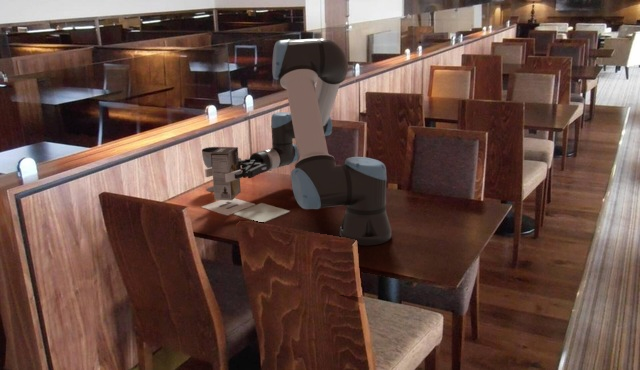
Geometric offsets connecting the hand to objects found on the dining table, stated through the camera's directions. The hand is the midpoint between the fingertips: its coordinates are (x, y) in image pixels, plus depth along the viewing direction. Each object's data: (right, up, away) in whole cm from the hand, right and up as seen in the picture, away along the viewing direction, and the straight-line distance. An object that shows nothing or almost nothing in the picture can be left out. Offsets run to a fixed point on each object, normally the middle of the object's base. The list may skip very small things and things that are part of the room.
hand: (215, 175), depth 195 cm
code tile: (+3, -10, +7) cm, 13 cm away
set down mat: (+15, -12, 0) cm, 19 cm away
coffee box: (+3, -7, +6) cm, 10 cm away
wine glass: (-4, -5, +25) cm, 26 cm away
